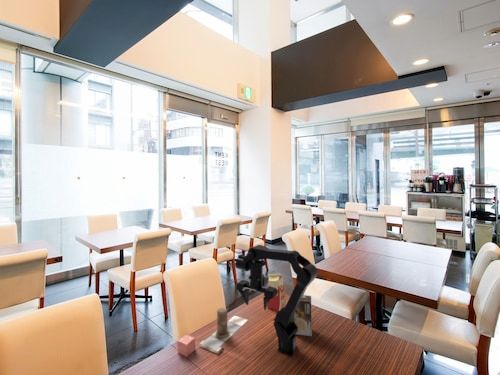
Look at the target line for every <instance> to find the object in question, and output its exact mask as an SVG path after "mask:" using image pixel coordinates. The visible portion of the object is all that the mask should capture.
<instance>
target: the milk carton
mask: <svg viewBox="0 0 500 375" xmlns="http://www.w3.org/2000/svg"><path fill="white" fill-rule="evenodd" d="M267 276H268V284H267V285H268V287H269V286H270V287H274V288H276V289H277V295H276V296H275V297H274V298H273V299H270V300H269V303H268V305H267V308H266V309H267V310H269V309H270V310H273V311H276V312H279V311H280V310H281V309H282V308H283V307H284V308H285V306H286V304H287V302H288V301H287V295H286V288H285V284H284V279H283V276H281V273H275V274H269V273H268V274H267ZM268 287H267V288H268Z"/></svg>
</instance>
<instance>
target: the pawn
mask: <svg viewBox="0 0 500 375" xmlns="http://www.w3.org/2000/svg"><path fill="white" fill-rule="evenodd" d="M227 322H228V309H227V308H225V307H221V308H218V309H217V310H216V331H215V332H216V337H217V339H219V340H221V339H224V338H227V337H228V336H229V331H228V330H227ZM216 337H215V338H216Z"/></svg>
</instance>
